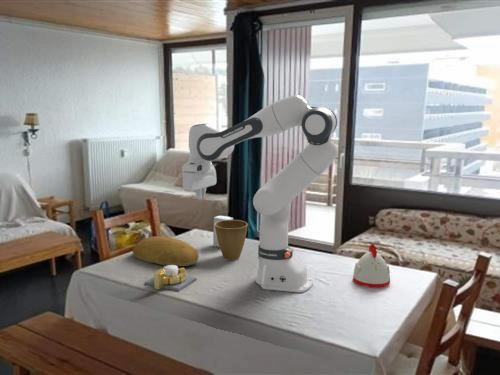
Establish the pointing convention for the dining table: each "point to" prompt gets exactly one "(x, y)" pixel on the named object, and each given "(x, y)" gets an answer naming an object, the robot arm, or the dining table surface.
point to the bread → (165, 251)
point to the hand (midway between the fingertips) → (201, 199)
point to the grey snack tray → (178, 286)
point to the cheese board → (162, 279)
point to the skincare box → (216, 219)
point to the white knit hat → (372, 270)
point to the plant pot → (231, 237)
